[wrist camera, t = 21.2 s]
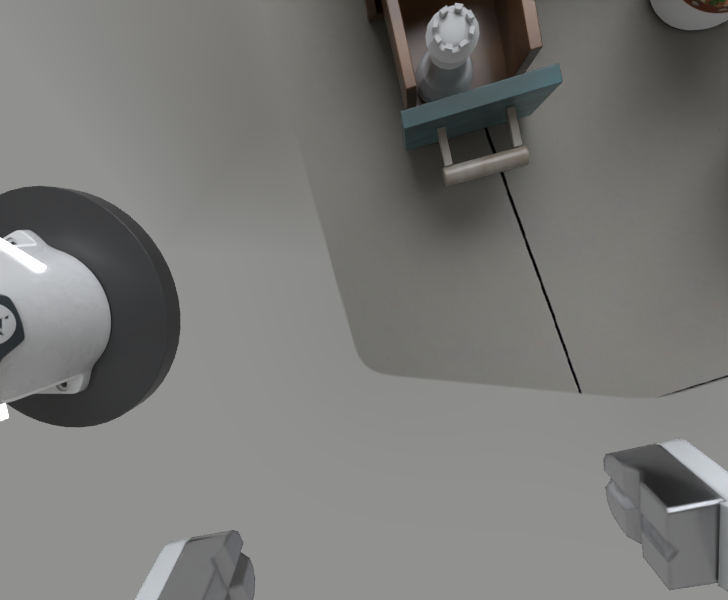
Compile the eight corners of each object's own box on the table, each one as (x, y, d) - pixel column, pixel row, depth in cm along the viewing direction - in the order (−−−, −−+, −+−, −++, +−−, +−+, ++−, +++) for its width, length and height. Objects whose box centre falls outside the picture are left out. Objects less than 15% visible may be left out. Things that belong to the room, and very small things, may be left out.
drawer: (540, 166, 32) (574, 148, 25) (416, 199, 34) (417, 190, 27) (497, -65, 30) (522, -152, 23) (367, -18, 31) (355, -86, 25)
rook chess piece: (426, 119, 31) (430, 80, 23) (407, 64, 31) (405, 6, 23) (479, 95, 31) (503, 46, 23) (461, 39, 30) (478, -30, 22)
